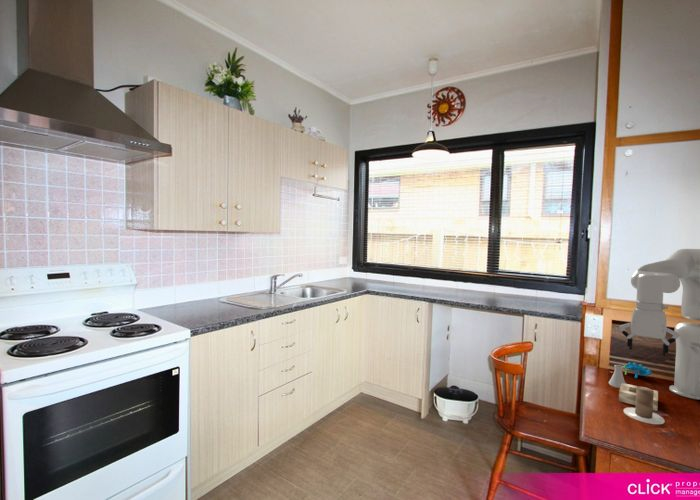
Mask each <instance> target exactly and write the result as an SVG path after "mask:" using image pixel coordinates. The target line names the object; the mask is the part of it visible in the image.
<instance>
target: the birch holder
mask: <svg viewBox="0 0 700 500" xmlns="http://www.w3.org/2000/svg"><path fill="white" fill-rule="evenodd" d="M625 383H626V382H625ZM625 383H621V387H620V388H619V390H618V391H619V392H618V402H621V403H626V404H629V405H633V406H636V389H637V387H639V386H638V385H633V384H628V383H626V384H625ZM652 390H653V391H654V397H653V411H655V412H656V411H657V412H658V408H659V407H658V405H659V403H658V402H659V391H658V390H654V389H652Z"/></svg>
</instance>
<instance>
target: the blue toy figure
mask: <svg viewBox="0 0 700 500" xmlns="http://www.w3.org/2000/svg"><path fill="white" fill-rule="evenodd" d="M622 366H623V368H622V369H624V371H625V372H624V375H626V376H627V374H628V373H634V378H635V379H638V376H641V377H644V376H645V377H649V376H652V371H651V370H650V369H649V367H647V366H644V367H643V364H641V363H639V364H638V363H636V362H628V363H626V364H624V365H622Z"/></svg>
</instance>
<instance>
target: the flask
mask: <svg viewBox="0 0 700 500" xmlns="http://www.w3.org/2000/svg"><path fill="white" fill-rule="evenodd" d="M623 366H624V365H620V364H614V371H613V374H612V376H611V378H610V379H609V381H608V384H609V385H610V386H611V387H614V388H617V389H620V387H621V383H625V384H627V382H626V381H625V378H624V375H623V374H624V373H623V369H624V368H623Z"/></svg>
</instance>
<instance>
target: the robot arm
mask: <svg viewBox="0 0 700 500" xmlns="http://www.w3.org/2000/svg"><path fill="white" fill-rule="evenodd" d="M630 283H631V286H632V287H633V288H634V289H635V290H636V302H635V303H636V305H635V307H633V310H632V312H631V313H632V314H631V321H630V322H626V323H624V324H621V325H619V326H618V327H619V330H620V332H621V334H622V335H623V336H625V338H626V339H627V345H626V346H627V347H629V350H630V351H632V350H633V339H634V338H633V337H634V336H639V337H643V338H644V337H645V338H650V339H658V340H661V341H662V355H663V356H666V354H669V346H670V345H671V344H673V343H675V364H674V366H675V367H674V381H673V382H674V383H673V384H674V385H673V384H672V385H669V386H668V387H669V388H668V389H669V391H671V392H672V393H674V394H676V395H678V396H681V397H684V398H688V399H692V400H700V324H699V323H695V322H688V321H685V322H682V321H681V322H679V323H677V324H675V326H674V330H673V329H670V328H669V327H667V316H666V312H665V311H663V310H668V309H669V305H666V304H664V294H674V293H675V292H677V291H678V290H679V289H680V287H682V296H681V307H680V308H681V309H680V311H681V316H682V317H683V318H685V319H688V320H692V321H696V322H697V321H698V322H700V248H681V249H677V250H675V251H674V252H673V253H672V254H670V255H669V256H668V257H667V258H665V260H660V261H656V262H652V263H648V264H644V265H642V266H640V267H639V268H637V269H636V270H635V271H634V272H633V273H632V276H631V277H630ZM626 328H630V333H629V332H628V331H627V330H626ZM667 333H669V334H670V335H672V337H670V338H669V339H668V338H667V337H666V335H667Z"/></svg>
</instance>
